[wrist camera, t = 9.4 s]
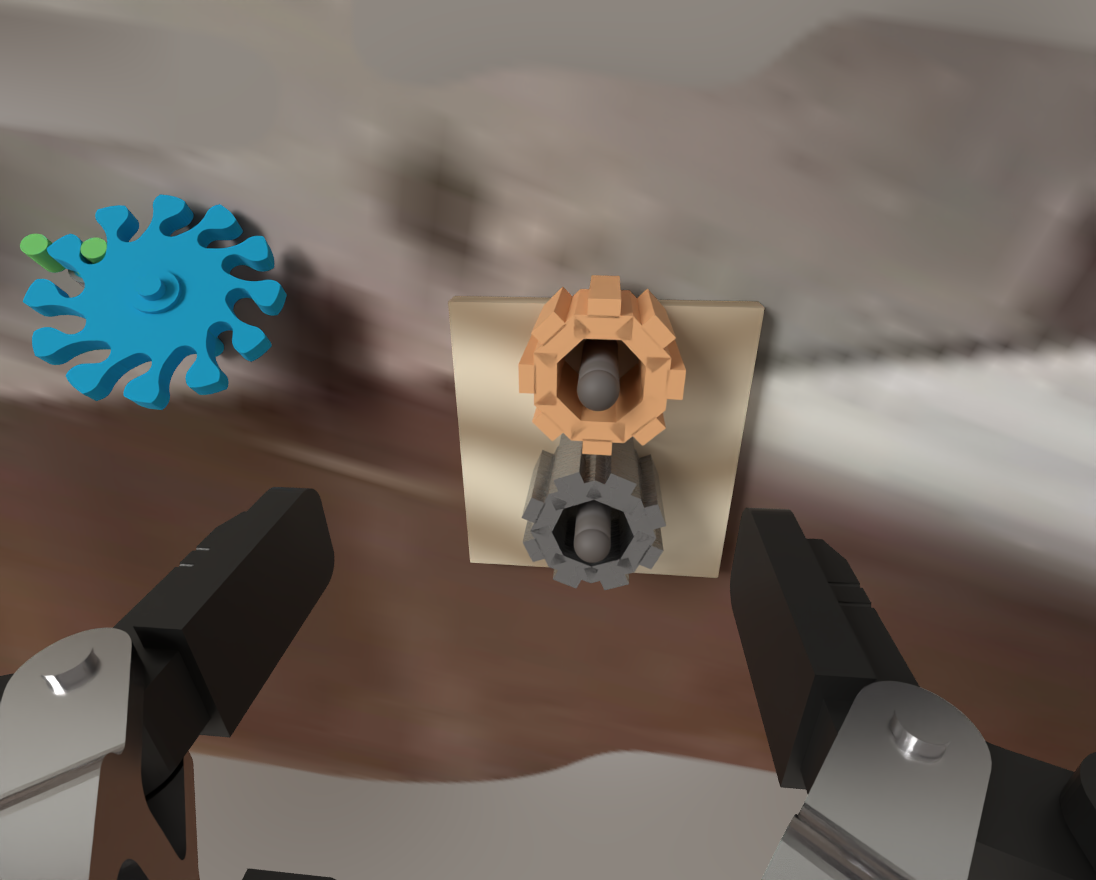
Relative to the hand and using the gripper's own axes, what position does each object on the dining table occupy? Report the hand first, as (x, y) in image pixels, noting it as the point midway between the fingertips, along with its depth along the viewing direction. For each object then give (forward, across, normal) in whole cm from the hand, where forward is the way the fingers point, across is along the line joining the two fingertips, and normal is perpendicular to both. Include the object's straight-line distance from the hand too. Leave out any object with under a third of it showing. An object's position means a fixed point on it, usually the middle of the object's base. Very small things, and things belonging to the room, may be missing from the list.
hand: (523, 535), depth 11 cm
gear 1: (+16, -1, +2) cm, 16 cm away
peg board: (+17, -1, +7) cm, 19 cm away
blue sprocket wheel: (+18, +18, -1) cm, 25 cm away
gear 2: (+16, -1, +9) cm, 18 cm away
